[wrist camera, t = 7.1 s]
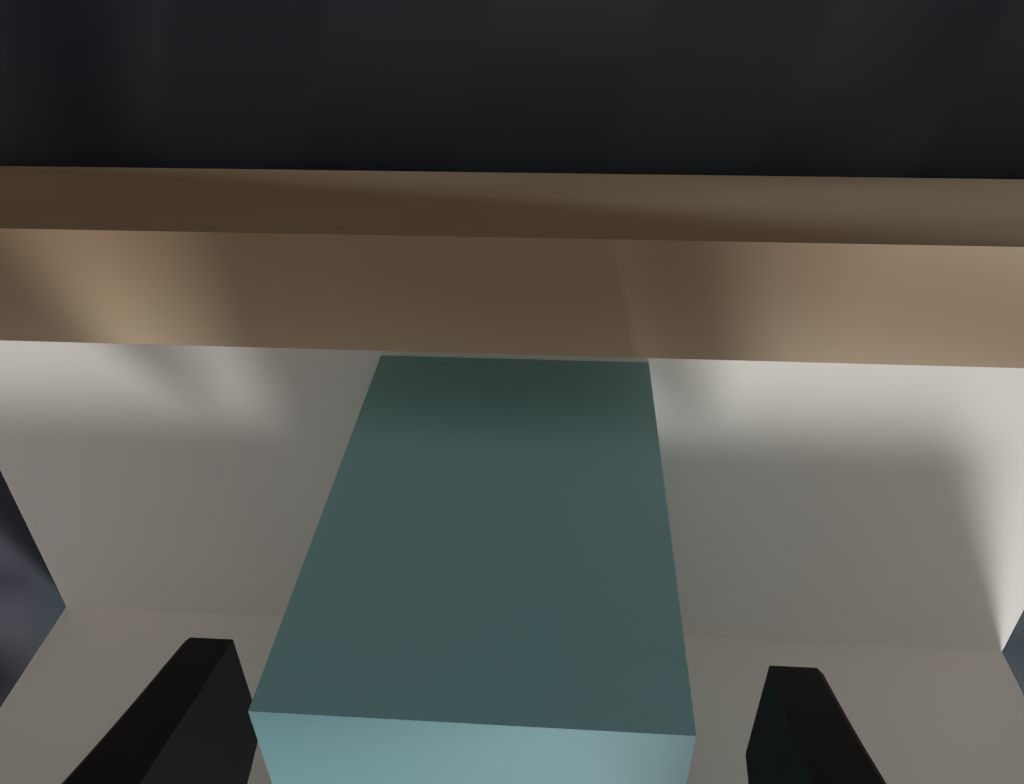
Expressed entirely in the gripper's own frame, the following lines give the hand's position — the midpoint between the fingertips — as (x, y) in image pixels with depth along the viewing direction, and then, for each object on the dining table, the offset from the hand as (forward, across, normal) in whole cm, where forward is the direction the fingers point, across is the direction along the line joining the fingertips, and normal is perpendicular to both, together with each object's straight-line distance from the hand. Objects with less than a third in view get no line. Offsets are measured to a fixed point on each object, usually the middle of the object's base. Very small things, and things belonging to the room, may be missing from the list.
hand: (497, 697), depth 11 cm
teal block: (+3, 0, 0) cm, 4 cm away
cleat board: (+4, 0, 0) cm, 4 cm away
